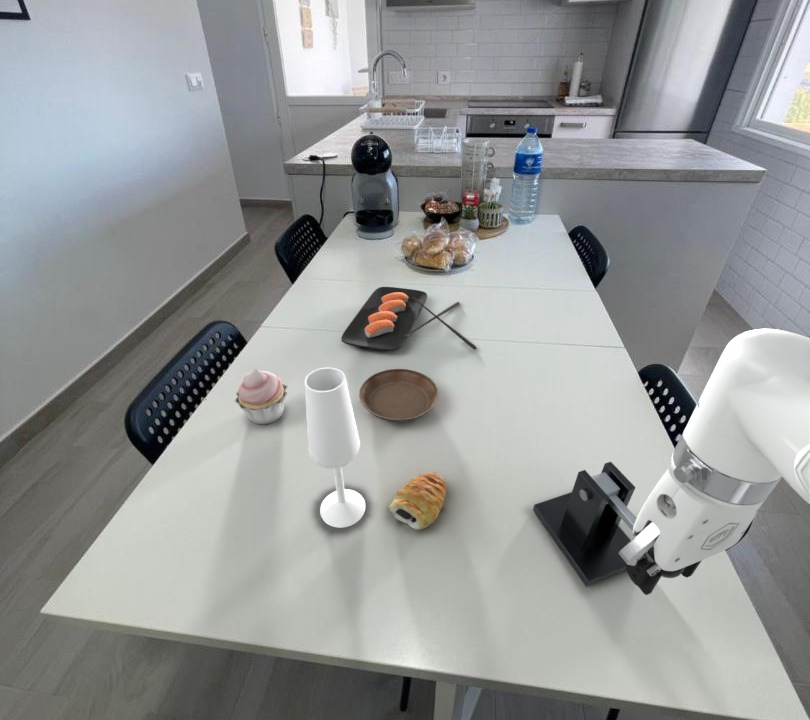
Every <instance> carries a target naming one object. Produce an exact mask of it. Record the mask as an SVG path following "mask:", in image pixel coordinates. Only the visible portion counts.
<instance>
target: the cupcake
mask: <svg viewBox="0 0 810 720" xmlns="http://www.w3.org/2000/svg"><path fill="white" fill-rule="evenodd" d="M243 377H244V378H243V380H242V382H241V383H240V385H239V386H238V390H237V391H236V392H235V395H236V397H235V399H234V403H236V405H238V407H239V408H240V409H241V410H242V411H243V412H244V413H245V415H246V417H247V418H248V420H249V421H250V422H252V423H254V424H256V425H268V424H272V423H274V422H276V421H278V420H279V419H280V418H281V417H282V415H283V414H284V410H285V401H286V398H287V396H288V392H287V390H288V387H289V385H287V384H283V380H282V379H281V378H280V377H279V376H278V375H276V374H274V373H273V372H271V371H267V370H260V369H258V368H255V369H253V371H250V372H248V373H246V375H244V376H243Z"/></svg>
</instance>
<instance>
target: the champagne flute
mask: <svg viewBox="0 0 810 720" xmlns="http://www.w3.org/2000/svg"><path fill="white" fill-rule="evenodd" d="M304 397H305V414H306V415H305V416H306V429H307V430H306V434H307V450H308V451H307V452H308V454H309V457H310V458H311V460H312V461H313V462H314V463H316V464H317V465H318V466H320V467H322V468H325V469H329V470H333V477H334V478H333V479H334V484H335V490H334V491H333V492H331V493H330V494H328V495H327V496H326V497H325V498H324V499H323V500H322V502H321V504H320V508H319V512H320V513H319V515H320V517H321V519H322V521H323V522H324V523H325V524H327V525H328V526H330V527H333V528H337V529H340V528H342V529H344V528H348V527H352V526H354V525H355V524H357V523H358V522H359V521H361V519H362V518H363V517H364V514H365V511H366V508H367V507H366V501H365V498H364V497H363V495H362V494H360V493H359V492H358V491H356V490H353V489H350V488H349V489H348V488H345V483H344V474H343V468H344V467H346V466H347V465H349V464H351V463H352V462H353V460H354V459H355V458H356V457H357V456H358V453H359V452H360V448H361V440H360V435H359V431H358V427H357V424H356V418H355V414H354V409H353V404H352V400H351V396H350V391H349V387H348V381H347V378H346V374H345V372H343V371H342V370H341V369H339V368H337V367H330V366H329V367H327V366H325V367H319V368H316V369H314V370H312V371H310V372H309V373H308V374H307V375H306V376H305V378H304Z"/></svg>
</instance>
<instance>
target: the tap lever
mask: <svg viewBox="0 0 810 720" xmlns="http://www.w3.org/2000/svg"><path fill="white" fill-rule="evenodd" d="M591 477H592V478H593V480H594V481H595V482H596V483H597V484H598V485H599V486H600V487H601V489H602V490H603V491H604V492H605V493H606V494H607V495H608V500H607V502H606V504H609V505H610V506H611V507H612V508H613V510H614V511H615V512H616V513H617V514H618V515H619V516H620V518H621V521H622V522H624V523H625V525H626V526H627V527H628V528H629V529H630V531H632V532H633V527H634V524H635V521H636V519H637V517H638V516H636V515H635V514H634V513H633V512H632V511H631V510H630V508H628V505H627V506H626V505H625V504H624V503H623V502H622V501H621V500H620V499H619V498H618V493H619V491H620V488H619V487H618V486H617V485H616V484H615V482H614V481H613V480H612V479H611V478H610V477H609V476H608V475H607V474H606V473H605V472H604V473H598V474H595V475H592V476H591ZM647 553H648V554H649V556H650V557H651V558H652V559H653V560H654V561H655V558H654V552H653V550H652V549H651V548H650V549H649V550H648V551H647ZM684 568H685V567H684ZM684 568H682V569H679V570H676V571H665V570H662V569H661V570H660V572H661V574H662V576H661V578H666V579H674V578H677V577H679V576H680V575H682V574H681V573H682V572H683V570H684Z"/></svg>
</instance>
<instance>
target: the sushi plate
mask: <svg viewBox="0 0 810 720" xmlns="http://www.w3.org/2000/svg"><path fill="white" fill-rule="evenodd" d="M427 299H428V294H427V292H425V291H422V290H418V289H412V288H405V287H394V286H379V287H378V288H376V289H374V291H373V292H372V293H371V295H370V296H369V297H368V299H367V300H366V301H365V303H364V304H363V305H362V307H361V308H360V309H359V311H358V312H357V314H356V315H355V317H354V318H352V321H351V322H349V325H348V326H347V327H346V328H345V330H344V332H342V335H341V337H340V338H341V339H340V340H341V343H343V344H345V345H349V346H353V347H357V348H364V349H371V350H378V351H386V352H387V351H388V352H393V351H397V350H399V349H401V348H402V347H403V345H404V344H405V343H406V341H407V339H408V337H409V336H410V335H412V334H414V333H415V332H416V331H418V330H419V329H421V328H422V327H424V326H426V325H427V324H429V323H430V322H432V321H434V320H435V319H437V320H438V321H439V322H441V323H442V324H443V325H444V326H445V327H446V328H447V329H449V331H451V332H452V333H454V334H455V335H456V336H457V337H458V338H460V339H461V340H462V341H463V342H464V343H465V344H467V345H468V346H469V347H470V348H471V349H473V350H474V351H475V350H477V346H476V345H475V344H474V343H473V342H471V341H470V340H468V339H467V338H466V337H465V336H463V335H462V334H461V333H460V332H458V330H456V329H455V328H453V327H452V326H450V325H449V324H448V323H446V322H445V321H444V320H443V319H441V318H440V317H441V316H442V315H444V314H446V313H447V312H449V311H451V310H453V309H454V308H456V307H457V306H459V305H460V301H457V302H455V303H453V304H452V305H450V306H448V307H447V308H445V309H443V310H442V311H441V312H439V313H437V315H436V313H434V312H433V311H432V310H431V309H429V308H428V307H426V306H425V304H426V302H427ZM423 309H425V310H426V311H427V312H428V313H430V314H431V315H432V316H433V317H431V318H430V319H428V320H427V321H426V322H424V323H422V324H420V326H418V327H416V328H414V325H415V323H416V321H417V319H418V318H419V315H420V313H421V311H422V310H423ZM413 328H414V329H413ZM412 329H413V330H412Z"/></svg>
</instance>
